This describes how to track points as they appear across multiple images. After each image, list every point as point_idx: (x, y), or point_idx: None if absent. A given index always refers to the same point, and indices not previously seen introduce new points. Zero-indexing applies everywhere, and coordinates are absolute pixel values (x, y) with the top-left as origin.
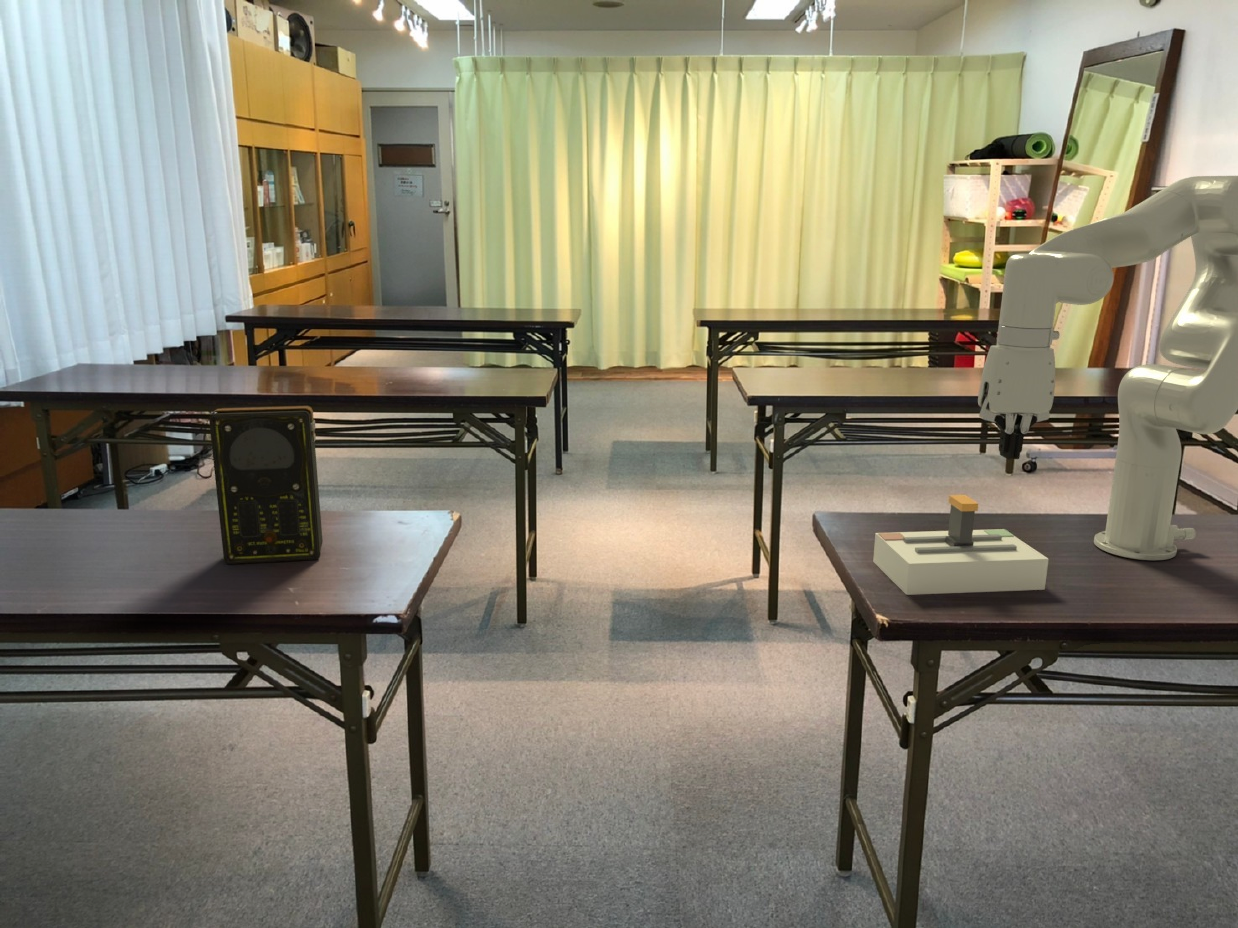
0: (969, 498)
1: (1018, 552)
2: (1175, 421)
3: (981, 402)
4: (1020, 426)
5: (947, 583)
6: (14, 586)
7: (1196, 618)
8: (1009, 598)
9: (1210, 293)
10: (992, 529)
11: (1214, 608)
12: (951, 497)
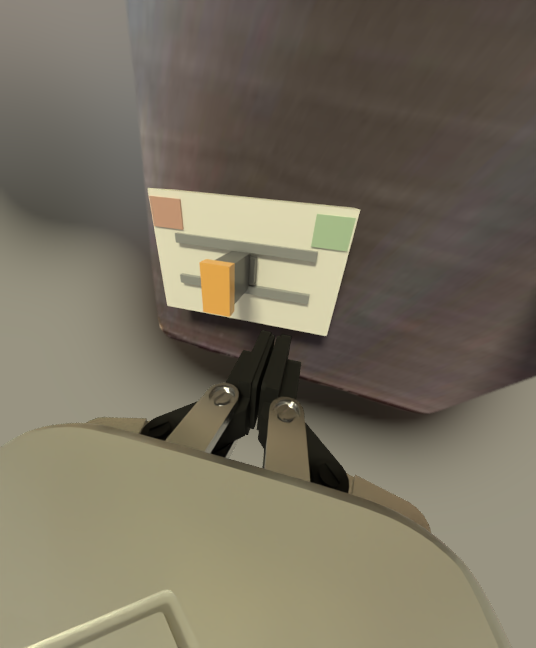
0: (227, 289)
1: (305, 309)
2: None
3: (26, 441)
4: (263, 457)
5: None
6: None
7: (411, 401)
8: None
9: None
10: (337, 207)
11: (455, 396)
12: (200, 271)
